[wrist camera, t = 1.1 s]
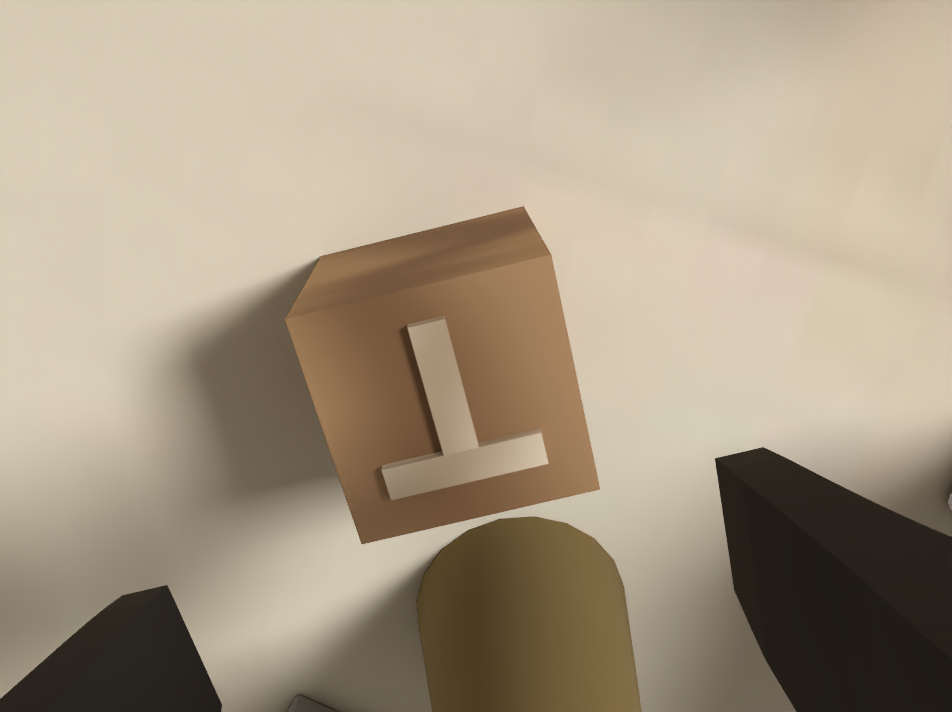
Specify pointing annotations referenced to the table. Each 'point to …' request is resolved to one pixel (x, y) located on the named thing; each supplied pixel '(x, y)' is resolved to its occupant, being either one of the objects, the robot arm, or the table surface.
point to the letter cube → (444, 375)
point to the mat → (307, 706)
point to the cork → (526, 623)
